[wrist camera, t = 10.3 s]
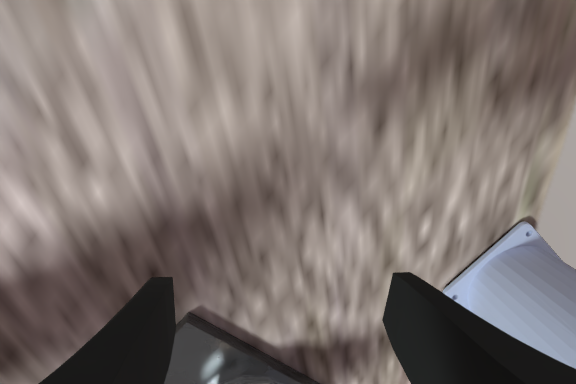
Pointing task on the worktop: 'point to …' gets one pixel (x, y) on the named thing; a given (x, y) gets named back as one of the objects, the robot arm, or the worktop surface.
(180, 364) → the collar stand
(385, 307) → the robot arm
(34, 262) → the worktop surface
